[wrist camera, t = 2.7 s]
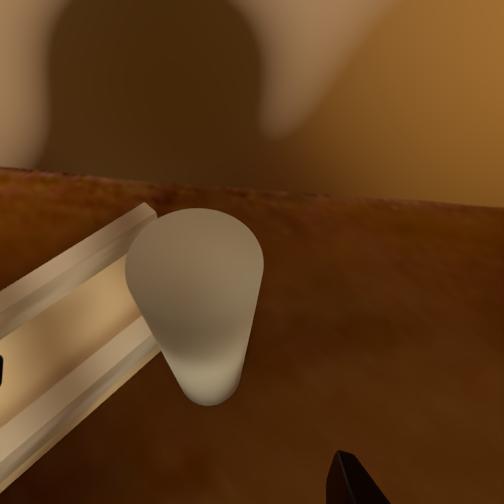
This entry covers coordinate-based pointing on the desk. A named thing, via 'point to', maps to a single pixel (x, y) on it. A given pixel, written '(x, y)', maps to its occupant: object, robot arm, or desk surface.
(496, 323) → the desk surface
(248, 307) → the beige piece
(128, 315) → the sliding track
